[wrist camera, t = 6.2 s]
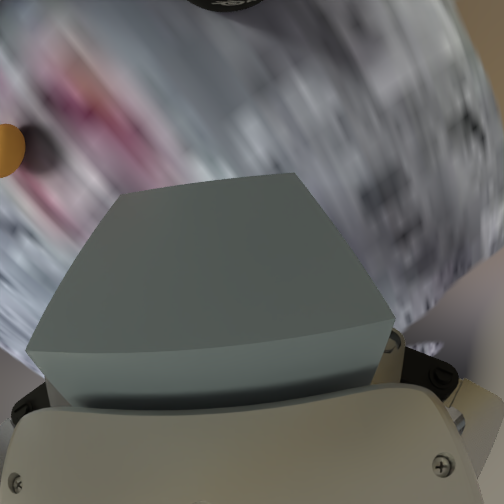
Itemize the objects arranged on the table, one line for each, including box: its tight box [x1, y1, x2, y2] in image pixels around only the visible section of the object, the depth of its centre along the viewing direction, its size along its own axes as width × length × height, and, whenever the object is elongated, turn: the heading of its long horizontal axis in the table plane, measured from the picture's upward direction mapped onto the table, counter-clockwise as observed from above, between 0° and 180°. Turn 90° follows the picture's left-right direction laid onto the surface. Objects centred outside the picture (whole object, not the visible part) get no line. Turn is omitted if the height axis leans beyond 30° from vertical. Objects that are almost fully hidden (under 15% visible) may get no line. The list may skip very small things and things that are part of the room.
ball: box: [0, 124, 25, 178], centre depth 18 cm, size 5×5×5 cm
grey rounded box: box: [25, 173, 396, 410], centre depth 11 cm, size 8×8×9 cm
